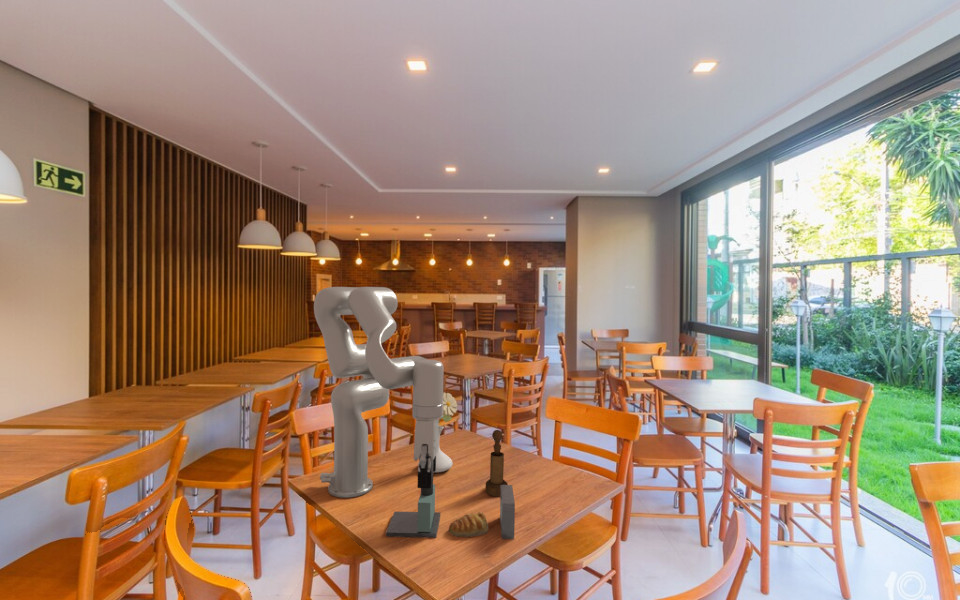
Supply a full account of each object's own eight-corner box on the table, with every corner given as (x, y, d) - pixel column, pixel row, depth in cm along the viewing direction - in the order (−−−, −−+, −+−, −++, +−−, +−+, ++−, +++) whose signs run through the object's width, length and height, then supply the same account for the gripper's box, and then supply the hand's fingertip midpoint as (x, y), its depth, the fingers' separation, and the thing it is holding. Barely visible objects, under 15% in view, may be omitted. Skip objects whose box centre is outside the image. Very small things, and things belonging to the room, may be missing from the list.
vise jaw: (417, 531, 104) (418, 464, 104) (423, 510, 114) (424, 449, 114) (430, 532, 104) (430, 465, 104) (434, 511, 114) (435, 450, 114)
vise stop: (501, 538, 104) (502, 503, 104) (500, 517, 114) (500, 484, 114) (514, 539, 104) (514, 503, 104) (511, 517, 114) (512, 485, 114)
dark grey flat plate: (385, 536, 104) (385, 532, 104) (394, 515, 114) (394, 511, 114) (436, 537, 104) (436, 533, 104) (440, 516, 114) (440, 512, 114)
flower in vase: (425, 478, 137) (426, 399, 136) (412, 465, 147) (413, 391, 146) (463, 470, 143) (464, 394, 143) (448, 459, 153) (449, 388, 153)
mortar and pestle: (505, 497, 125) (506, 434, 125) (483, 495, 126) (484, 433, 126) (508, 487, 131) (509, 427, 131) (487, 485, 133) (488, 426, 132)
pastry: (454, 542, 102) (454, 526, 102) (444, 528, 109) (445, 513, 108) (490, 534, 106) (490, 518, 106) (479, 521, 112) (480, 506, 112)
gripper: (418, 401, 117) (417, 465, 117) (406, 420, 100) (405, 494, 100) (446, 402, 117) (445, 465, 117) (439, 420, 100) (438, 495, 100)
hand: (427, 479), depth 109 cm, fingers open, 9 cm apart
